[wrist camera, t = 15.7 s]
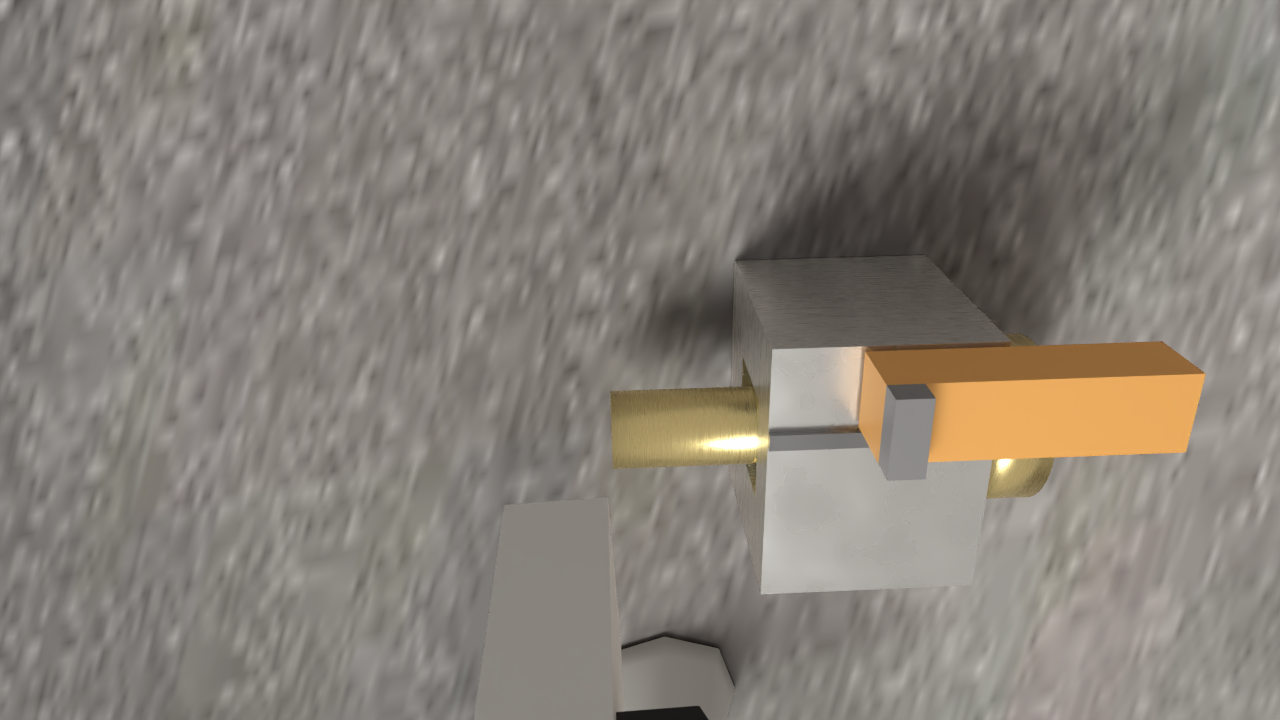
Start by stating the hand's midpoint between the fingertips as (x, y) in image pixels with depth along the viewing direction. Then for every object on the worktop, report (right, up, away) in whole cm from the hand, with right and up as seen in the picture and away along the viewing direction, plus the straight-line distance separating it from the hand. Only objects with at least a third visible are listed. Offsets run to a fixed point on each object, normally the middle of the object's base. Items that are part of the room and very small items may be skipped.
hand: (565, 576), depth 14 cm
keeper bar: (+14, +2, +18) cm, 23 cm away
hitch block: (+9, +3, +28) cm, 29 cm away
